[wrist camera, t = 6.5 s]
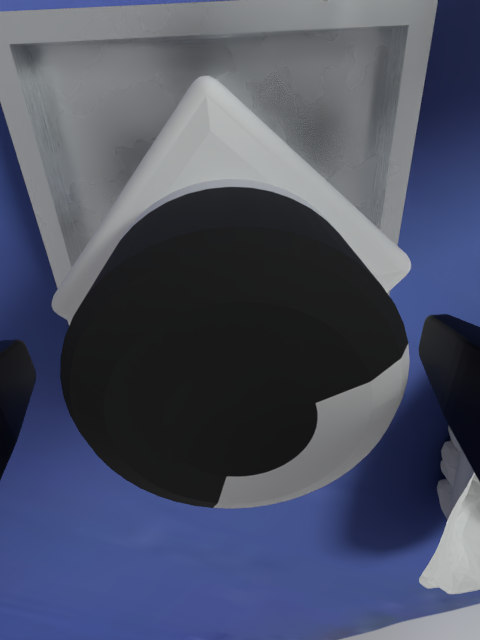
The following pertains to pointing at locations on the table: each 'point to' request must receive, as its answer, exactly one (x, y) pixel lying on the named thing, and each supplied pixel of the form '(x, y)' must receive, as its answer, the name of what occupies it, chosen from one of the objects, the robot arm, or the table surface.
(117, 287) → the medicine bottle
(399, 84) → the tray
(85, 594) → the table surface
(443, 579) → the dental model
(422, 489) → the table surface
